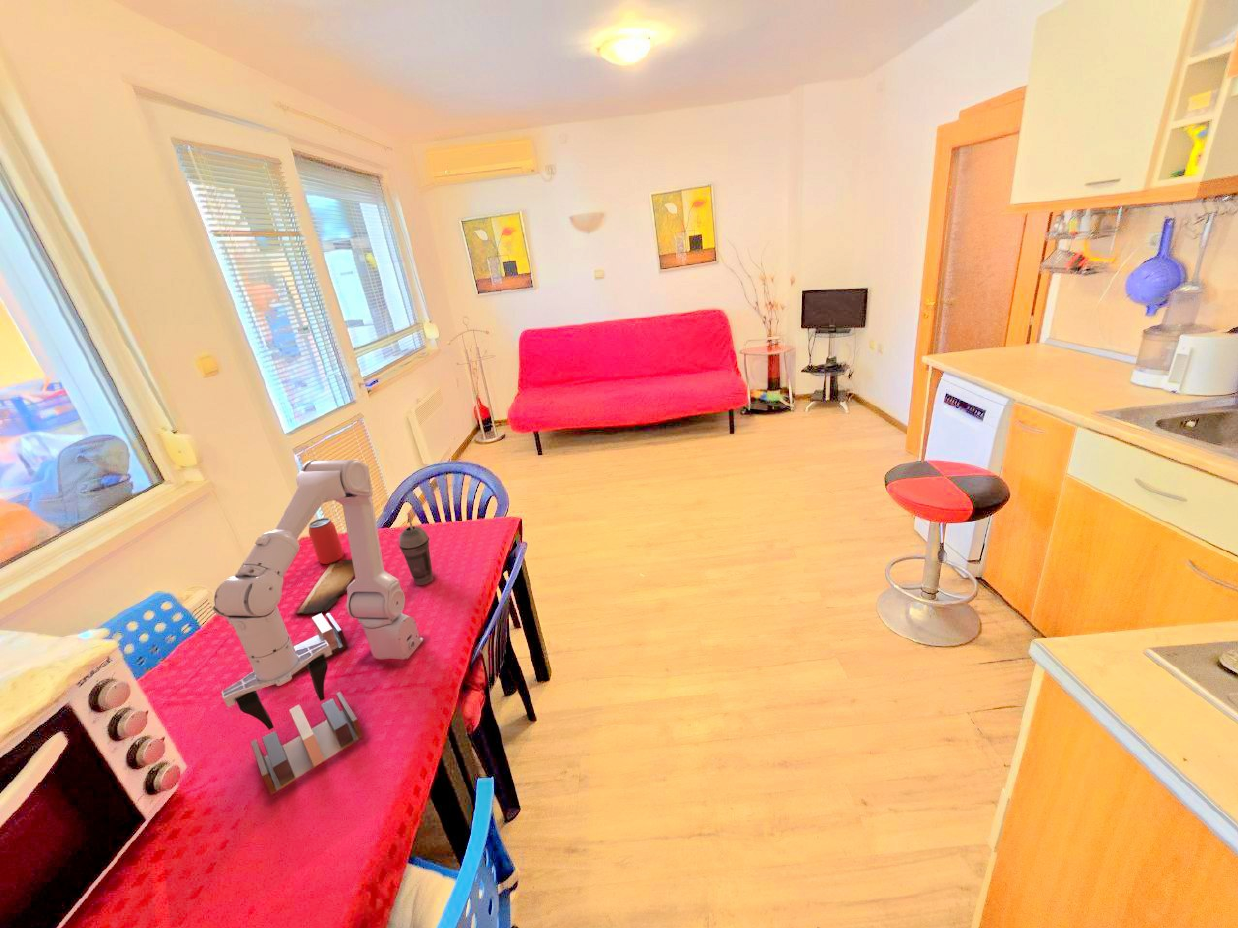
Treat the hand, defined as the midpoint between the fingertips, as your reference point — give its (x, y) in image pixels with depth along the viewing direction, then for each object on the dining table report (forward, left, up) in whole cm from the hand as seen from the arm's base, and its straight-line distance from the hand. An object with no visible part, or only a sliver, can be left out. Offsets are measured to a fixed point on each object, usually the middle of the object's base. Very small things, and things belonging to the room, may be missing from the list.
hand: (296, 710), depth 82 cm
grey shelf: (0, 0, -9) cm, 9 cm away
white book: (0, 0, -8) cm, 8 cm away
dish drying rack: (+20, -20, -9) cm, 30 cm away
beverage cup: (+10, -49, -10) cm, 51 cm away
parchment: (+34, -44, -10) cm, 56 cm away
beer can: (+45, -56, -10) cm, 72 cm away
